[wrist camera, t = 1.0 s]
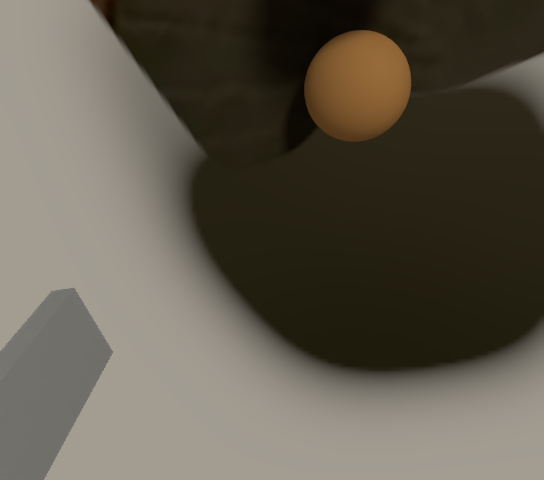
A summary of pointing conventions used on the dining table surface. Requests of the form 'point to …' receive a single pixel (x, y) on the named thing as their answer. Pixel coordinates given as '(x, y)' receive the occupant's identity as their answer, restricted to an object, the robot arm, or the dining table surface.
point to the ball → (357, 85)
